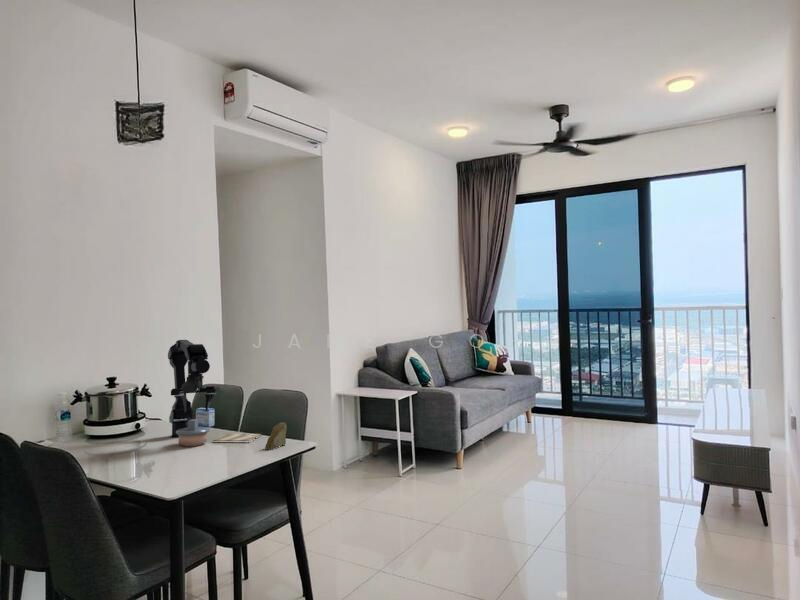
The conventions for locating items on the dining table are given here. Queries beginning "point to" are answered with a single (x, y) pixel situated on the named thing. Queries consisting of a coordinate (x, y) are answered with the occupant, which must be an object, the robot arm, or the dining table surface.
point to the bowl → (192, 439)
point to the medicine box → (205, 417)
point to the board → (236, 437)
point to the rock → (277, 436)
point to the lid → (192, 429)
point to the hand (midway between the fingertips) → (195, 411)
